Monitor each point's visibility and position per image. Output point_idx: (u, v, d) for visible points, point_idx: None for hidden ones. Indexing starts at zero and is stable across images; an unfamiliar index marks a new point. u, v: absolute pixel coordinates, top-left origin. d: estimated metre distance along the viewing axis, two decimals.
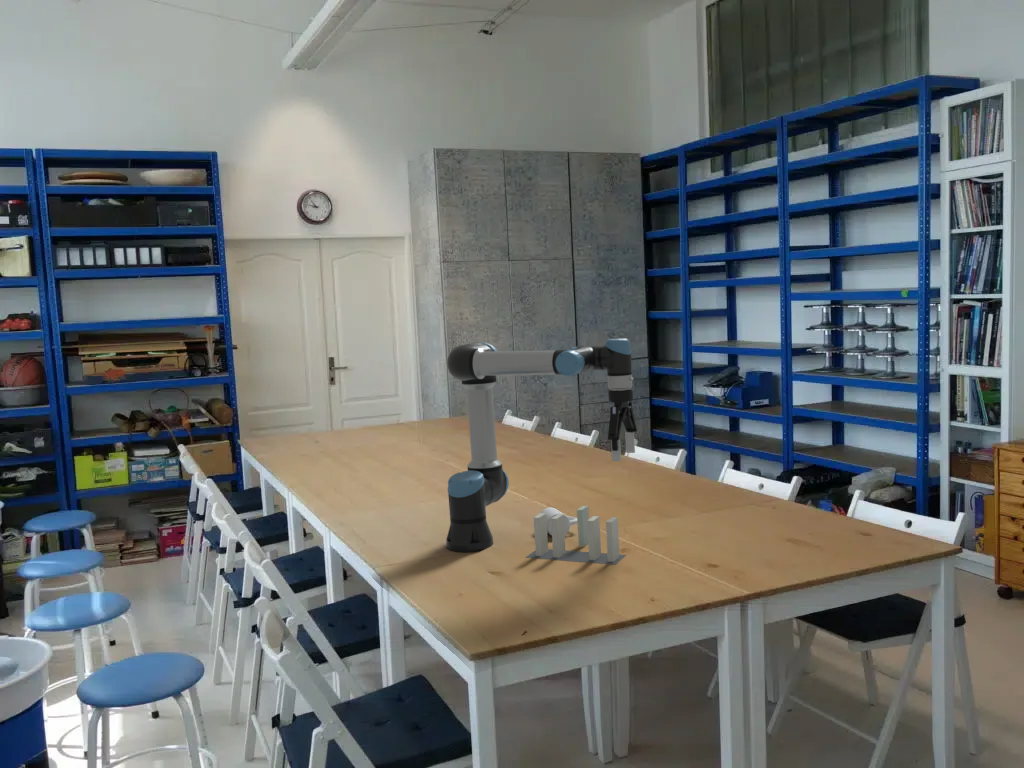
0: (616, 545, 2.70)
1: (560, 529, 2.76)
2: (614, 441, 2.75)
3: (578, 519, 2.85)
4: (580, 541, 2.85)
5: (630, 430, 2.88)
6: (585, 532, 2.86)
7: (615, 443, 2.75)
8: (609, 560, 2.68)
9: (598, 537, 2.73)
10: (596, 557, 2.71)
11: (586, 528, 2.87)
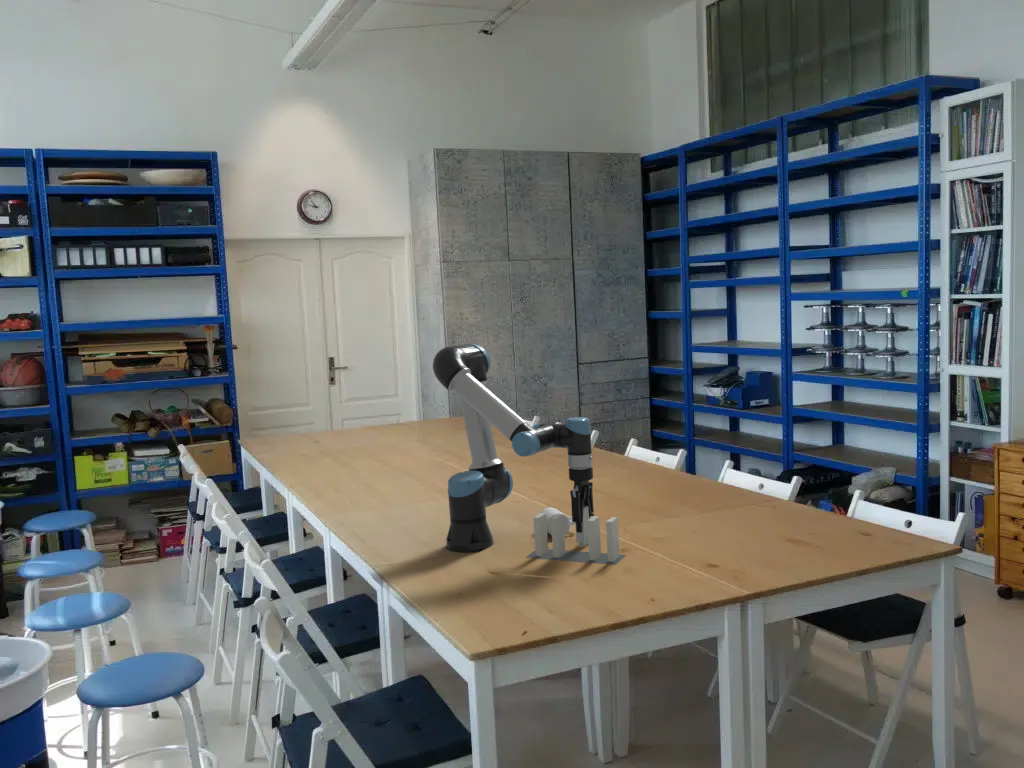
0: (616, 545, 2.70)
1: (560, 529, 2.76)
2: (578, 523, 2.83)
3: None
4: None
5: None
6: (585, 532, 2.86)
7: (579, 525, 2.83)
8: (609, 560, 2.68)
9: (598, 537, 2.73)
10: (596, 557, 2.71)
11: (586, 528, 2.87)
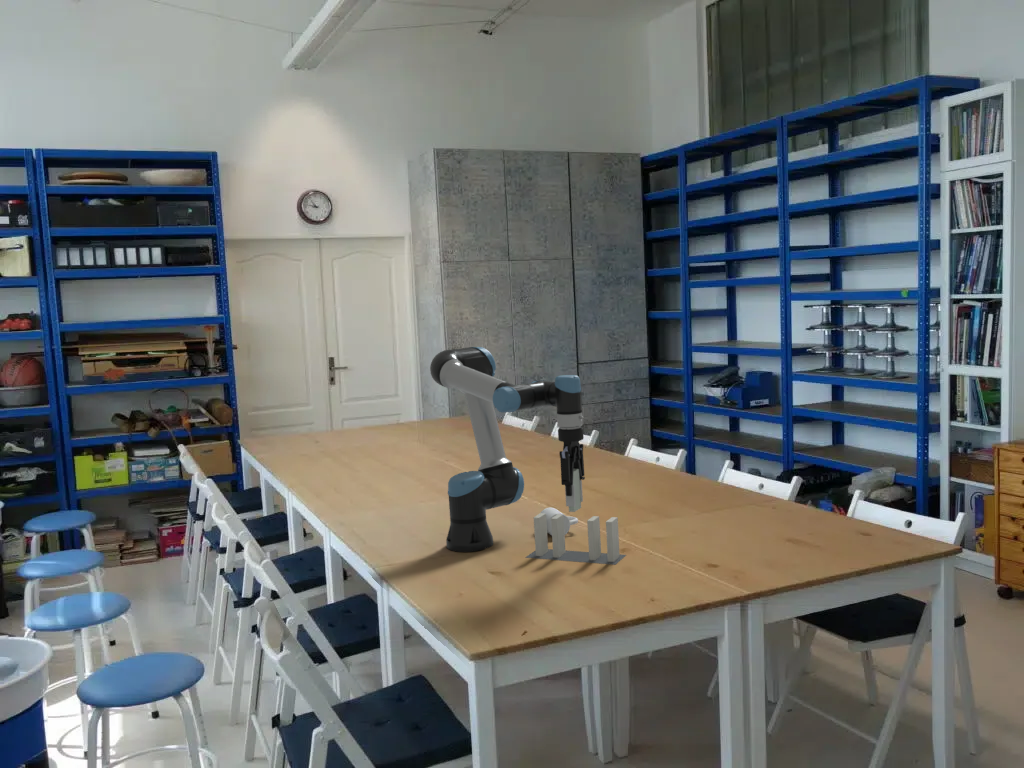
0: (616, 545, 2.70)
1: (560, 529, 2.76)
2: (568, 486, 2.69)
3: None
4: None
5: None
6: (575, 496, 2.72)
7: (569, 488, 2.69)
8: (609, 560, 2.68)
9: (598, 537, 2.73)
10: (596, 557, 2.71)
11: (576, 492, 2.73)
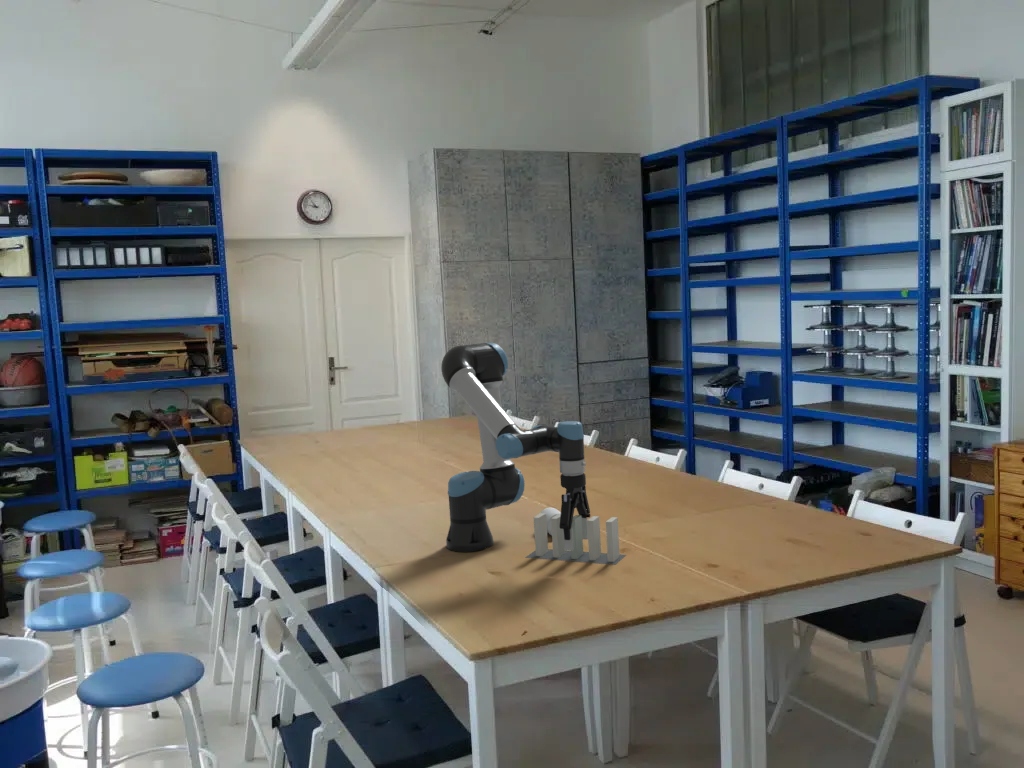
0: (616, 545, 2.70)
1: (560, 529, 2.76)
2: (566, 530, 2.67)
3: None
4: (573, 552, 2.73)
5: (583, 515, 2.80)
6: (578, 543, 2.73)
7: (567, 532, 2.67)
8: (609, 560, 2.68)
9: (598, 537, 2.73)
10: (596, 557, 2.71)
11: (579, 539, 2.74)
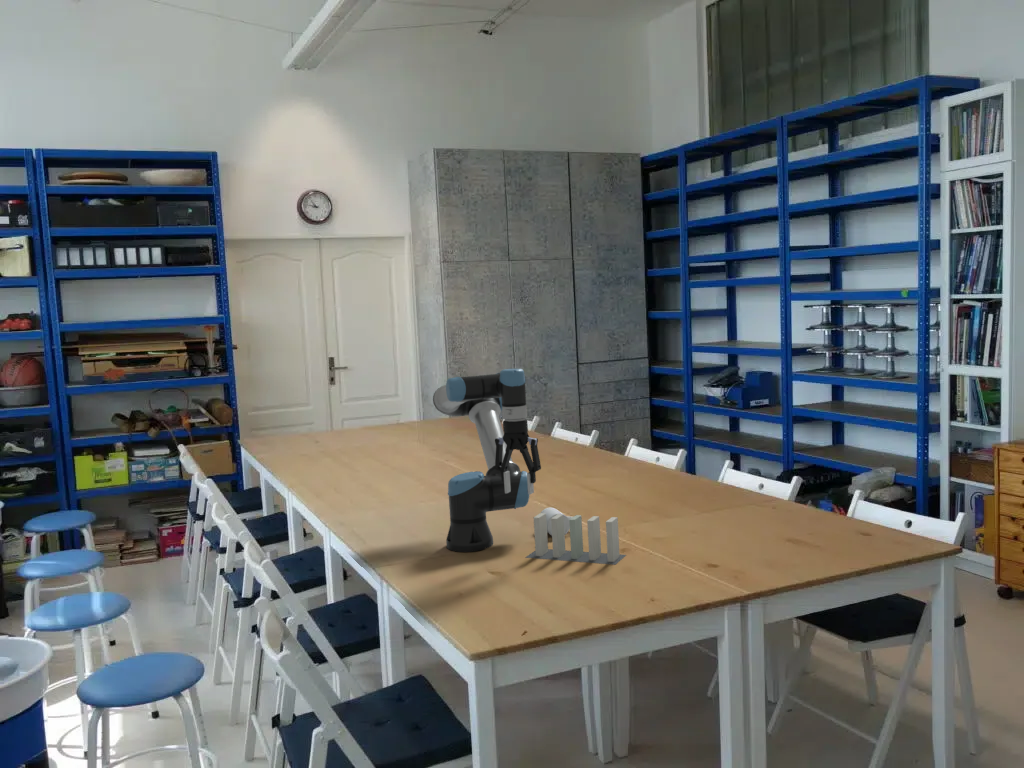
0: (616, 545, 2.70)
1: (560, 529, 2.76)
2: None
3: (570, 529, 2.72)
4: (573, 552, 2.73)
5: None
6: (578, 543, 2.73)
7: None
8: (609, 560, 2.68)
9: (598, 537, 2.73)
10: (596, 557, 2.71)
11: (579, 539, 2.74)
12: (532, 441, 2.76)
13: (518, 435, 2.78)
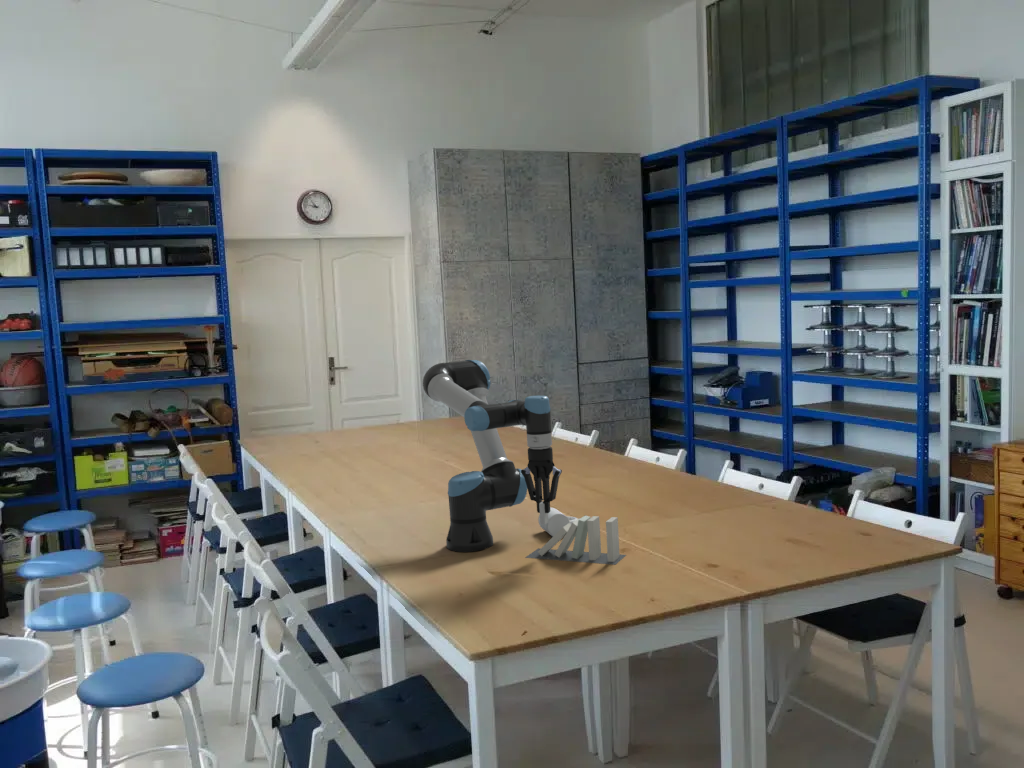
0: (616, 545, 2.70)
1: (573, 534, 2.74)
2: None
3: (577, 529, 2.71)
4: (574, 552, 2.72)
5: None
6: (581, 544, 2.73)
7: (537, 505, 2.78)
8: (609, 560, 2.68)
9: (598, 537, 2.73)
10: (596, 557, 2.71)
11: (583, 539, 2.74)
12: (556, 472, 2.73)
13: (544, 461, 2.75)
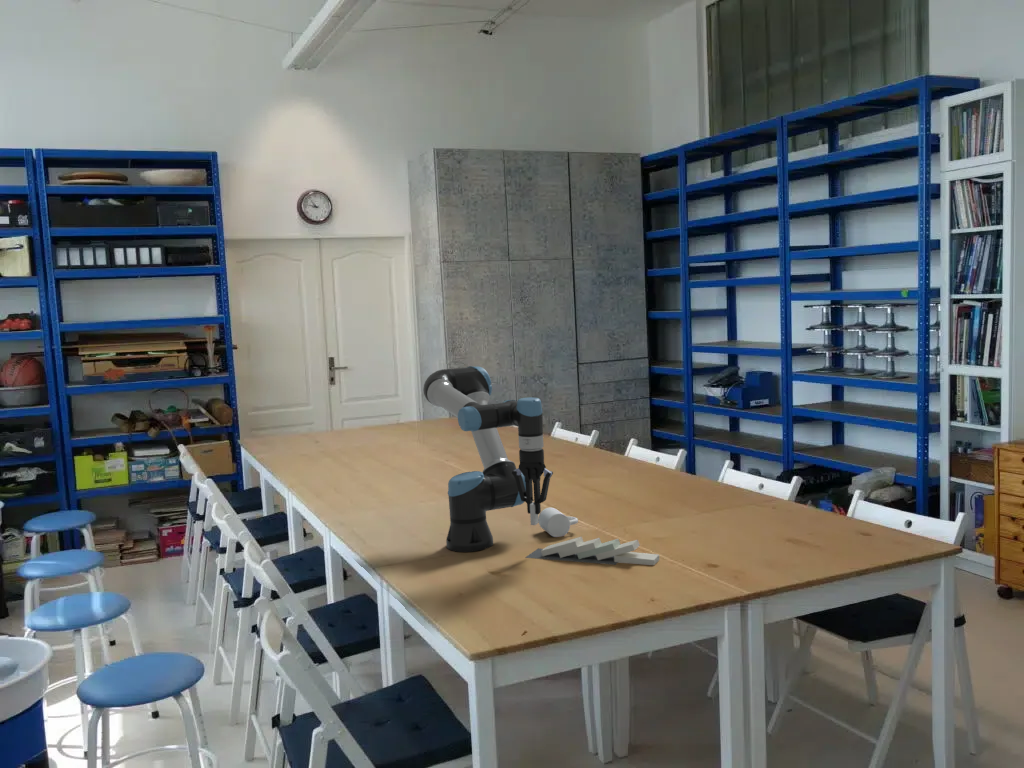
0: None
1: None
2: None
3: (603, 547, 2.68)
4: (583, 554, 2.71)
5: None
6: None
7: None
8: (615, 557, 2.67)
9: None
10: None
11: None
12: (547, 474, 2.75)
13: (536, 463, 2.77)
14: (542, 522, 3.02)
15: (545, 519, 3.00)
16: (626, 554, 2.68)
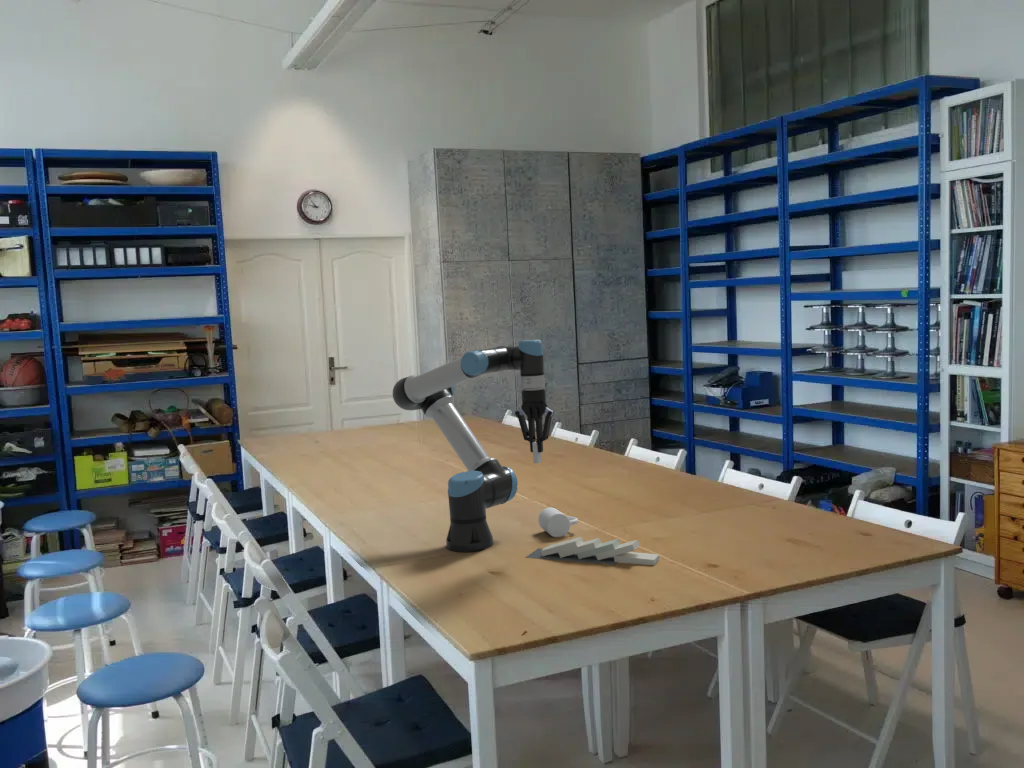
0: None
1: None
2: None
3: (603, 547, 2.68)
4: (583, 554, 2.71)
5: None
6: None
7: None
8: (615, 557, 2.67)
9: None
10: None
11: None
12: (549, 413, 2.85)
13: (537, 402, 2.86)
14: (542, 522, 3.01)
15: (545, 519, 3.00)
16: (626, 554, 2.68)
